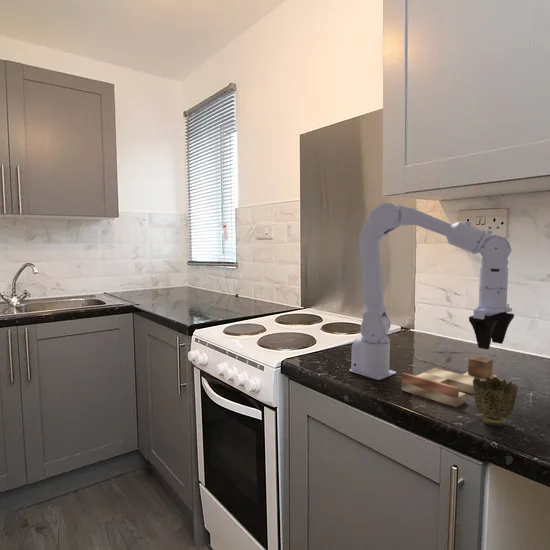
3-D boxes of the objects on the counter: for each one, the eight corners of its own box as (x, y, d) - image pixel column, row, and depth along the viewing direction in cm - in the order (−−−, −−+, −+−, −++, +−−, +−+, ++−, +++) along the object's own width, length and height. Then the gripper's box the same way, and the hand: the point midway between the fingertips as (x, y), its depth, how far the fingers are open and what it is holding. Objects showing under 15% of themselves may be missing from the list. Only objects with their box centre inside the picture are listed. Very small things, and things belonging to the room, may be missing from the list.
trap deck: (401, 389, 94) (401, 373, 93) (445, 370, 107) (445, 356, 107) (456, 407, 84) (457, 388, 84) (496, 383, 98) (497, 367, 97)
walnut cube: (468, 374, 98) (468, 358, 98) (475, 371, 101) (475, 355, 100) (485, 379, 95) (485, 362, 95) (492, 375, 98) (492, 359, 97)
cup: (500, 414, 80) (502, 375, 80) (524, 432, 73) (526, 389, 72) (464, 415, 80) (465, 376, 79) (484, 432, 73) (486, 390, 72)
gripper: (498, 292, 85) (495, 354, 86) (524, 286, 94) (521, 343, 95) (465, 289, 90) (462, 348, 91) (492, 284, 100) (490, 338, 101)
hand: (490, 345), depth 94 cm, fingers open, 7 cm apart
